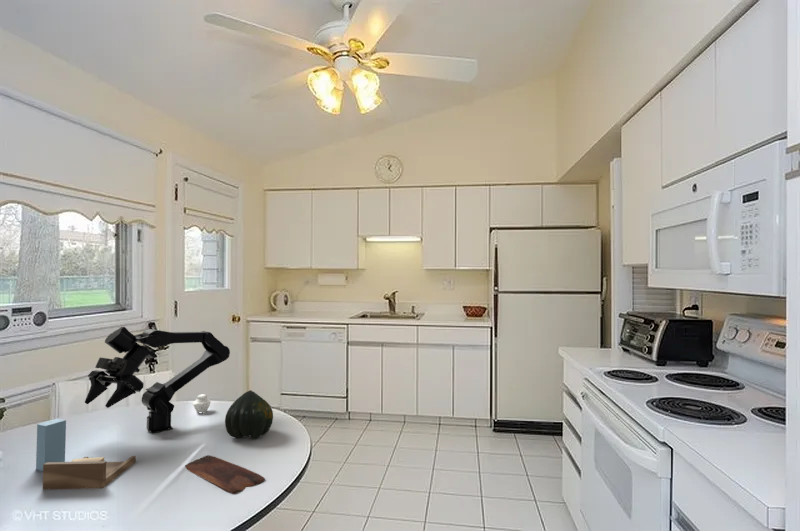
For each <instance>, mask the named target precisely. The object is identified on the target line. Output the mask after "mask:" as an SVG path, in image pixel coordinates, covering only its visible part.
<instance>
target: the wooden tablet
mask: <svg viewBox="0 0 800 531" xmlns="http://www.w3.org/2000/svg"><path fill="white" fill-rule="evenodd" d="M184 468H185V469H186V470H187V471H188V472H189V473H192V474H194V475H196V476H198V477H199V478H202V479H204V480H206V481H207V482H209V483H211V484H212V485H215V486H217V487H218V488H219V489H220V490H223V491H225V492H227V493H229V494H232V495H236V494H237V495H238V494H239V493H241V492H243V491H244V490H245V489H246V488H252V487H255V486H257V485H260V484H262V483H264V482H265V480H266V478H265V477H264V476H262V475H261V474H259V473H256V472H255V471H252V470H250V469H247V468H245V467H243V466H240V465H237V464H235V463H233V462H229V461H227V460H226V459H225V460H224V459H222V458H219V457H216V456H213V455H210V454H209V455H205V456H202V457H199V458H197V459H195V460H194V461H190V462H189V463H187V464H186V465H184Z"/></svg>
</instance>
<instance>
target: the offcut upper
mask: <svg viewBox="0 0 800 531" xmlns="http://www.w3.org/2000/svg"><path fill="white" fill-rule="evenodd" d="M90 461H105V457H104V456H99V457H89V458H84V457H83V458H82V457H81V458H73V459H72V460H71V461H70V462H90Z"/></svg>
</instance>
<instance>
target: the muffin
mask: <svg viewBox="0 0 800 531" xmlns="http://www.w3.org/2000/svg"><path fill="white" fill-rule="evenodd" d="M192 405H193V408H194V410H195V411H196V413H197V412H205V413H207V412H206V411H208V409H209V408H210V407H211V399H209V398H208V396H207V394H202V393H201V394H198V395H197V397H196V398H195V400H194V401H193V402H192Z"/></svg>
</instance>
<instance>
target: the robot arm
mask: <svg viewBox="0 0 800 531" xmlns="http://www.w3.org/2000/svg"><path fill="white" fill-rule="evenodd" d="M104 343H105V344H107V346H109V347H110V348H112V350H114V351H115V352H117V353H118V354H122V353H125V354H124V356H123V357H119V356H117V357H116V356H115V357H114V358H113V359H112V358H107V357H106V358H105V357H99V358H98V360H97V363H96V365H95V367H94V368H95V369H94V370H91V371H90V372H89V374H88V375H87V377H88V380H89V381H90V388H89V391H88V393H87V395H86V397H85V400H84V403H85V404H86V405H89V404H90V403H91V402H93V401H95V399H96V398H98V397H99V396H100V395H102V394H103V393H104V392H105V391H107V390H108V387H109V386H111V385H112V384H116V389H115V390H114V392H112V395H111V396H110V397H109V399H108V401H106V404H105V407H106V408H107V409H108V408H110V407H112V406H114V405H115V404H117V403H119V402H121V401H122V400H124V399H126V398H128V397H129V396H132V395H134V394H137V393H140V392H141V391H142V390H143V388H144V381H142V380H141V379H140V378H139V377H137V376H136V375H134V374H135V373H139V372H141V369H140V367H141V366H142V364H143V363H144V362H145V360H146V359H154V358H156V354H155V349H150V348H148V347H151V348H160V347H165V346H168V345H169V346H170V345H173V344H190V343H191V344H193V343H194V344H195V343H201V345H202V347H203V348H204V352H203V353H202V355H201V357H200V358H198V359H196V361H194V362H193V363H192V364H190V365H189V366H187V367H186V368H184V369H183V370H182V371H181V372H179V373H178V374H176V375H174V377H172V378H171V379H169V380H168V381H166V382H165V383H160V382H158V381H156V382H155V383H154V384H153V385H151V386H150V387H148V388H146V389H145V392H143V394H142V396H141V404H142V405H143V406H145V407H146V409H147V410H148V415H147V417H146V429H147V430H148V432H150V434H156V433H159V432H164V431H169V430H172V429H173V426H172V413H173V411H174V408H175V405H174V404H173V403H172V402H171V400H172V398H173V397H174V395H175V394H176V392H178V391H179V390H180V389H182V388H183V387H185V386H186V385H187V384H188V383H190V382H191V381H192V380H194V379H195V378H197V377H198V376H199V375H200V374H203V372H205V371H206V370H208V369H209V368H211V367H213V366H216V365H219V364H221V363H223V362H225V361H226V360H228V359H230V354H231V350H230V348H229V347H228V346H226V345H224V344H223V343H222V341H220V340H219V339H218V338H216V337H215V336H214V334H213V333H212V332H210V331H205V330H203V331H175V332H173V331H172V332H171V331H167V330H159V329H154V328H153V329H152V328H149V329H148V328H147V329H146V330H144V331H143V332H142V333H139V334H133V333H132V332H130V331H129V330H128V329H127V327H125V326H120V327H119V328H118V329H116V330H114V331H113V332H111V333H110V334H109V335H108V336H107V337H106V338H105V340H104ZM141 344H143V345H141ZM98 369H101V370H98Z"/></svg>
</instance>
